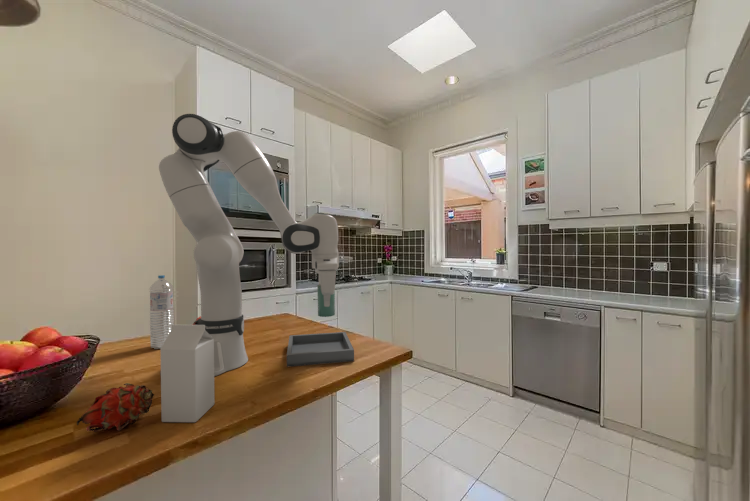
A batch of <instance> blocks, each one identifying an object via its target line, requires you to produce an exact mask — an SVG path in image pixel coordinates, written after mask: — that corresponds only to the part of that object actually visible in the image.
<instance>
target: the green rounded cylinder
mask: <svg viewBox="0 0 750 501" xmlns="http://www.w3.org/2000/svg"><path fill="white" fill-rule="evenodd" d="M316 287H317V289H316V290H317V316H318V317H322V318H329V317H333V316H335V315H336V308H335V307H336V306H335V305H336V303H335V302H336V300H335V299H336V298H335V297H336V296H335V295H336V294H335V291H336V289H335V290H334V294H332V295H330V306H329V307H325V306H324V295H323V294H322V292H321V286H320V284H319V283H318V284H317V286H316Z"/></svg>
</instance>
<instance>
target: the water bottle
mask: <svg viewBox="0 0 750 501" xmlns="http://www.w3.org/2000/svg"><path fill="white" fill-rule="evenodd" d="M149 300H150V301H149V305H150V306H149V307H150V308H149V309H150V310H149V319H150V320H149V325H150V330H149V332H150V333H149V334H150V338H149V339H150V340H149V341H150V348H151V349H152V348H154V349H153V350H160V349H161V347H162V345H163V344H164V342H165V340H166V339H167V337H168V335H169V333H170V332H171V330H172V325H175V324H174V321H175V317H174V313H175V312H174V286H173V285H172V283H171V282H170V281H168V280H167V279H165V275H161V274H160V275H159V274H158V276H157V280H156V281H154V282H153V283H152V285H151V286H150V287H149Z"/></svg>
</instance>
